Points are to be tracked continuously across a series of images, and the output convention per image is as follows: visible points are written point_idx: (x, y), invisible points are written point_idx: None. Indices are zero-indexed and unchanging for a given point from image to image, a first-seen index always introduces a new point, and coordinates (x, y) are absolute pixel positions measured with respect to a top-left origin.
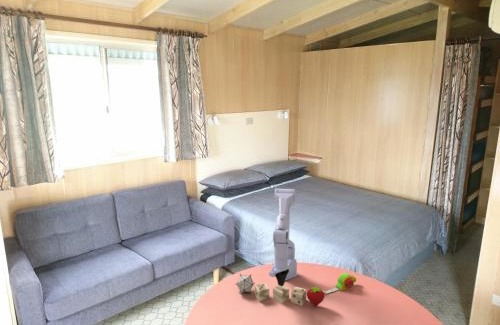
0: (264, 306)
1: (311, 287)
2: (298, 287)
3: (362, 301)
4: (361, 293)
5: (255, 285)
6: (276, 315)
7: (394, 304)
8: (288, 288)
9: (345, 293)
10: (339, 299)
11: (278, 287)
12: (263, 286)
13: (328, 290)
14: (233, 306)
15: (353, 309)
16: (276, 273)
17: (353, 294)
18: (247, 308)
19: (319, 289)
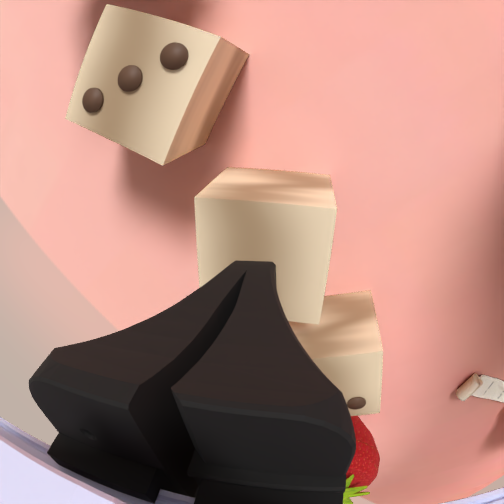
0: (114, 183)
1: (352, 475)
2: (380, 370)
3: (450, 463)
4: (497, 444)
5: (109, 12)
6: (118, 292)
7: (455, 489)
8: (314, 320)
9: (489, 423)
10: (440, 431)
11: (258, 231)
12: (150, 81)
13: (499, 381)
14: (9, 57)
15: (390, 468)
16: (40, 452)
17: (487, 437)
18: (38, 122)
19: (343, 500)
